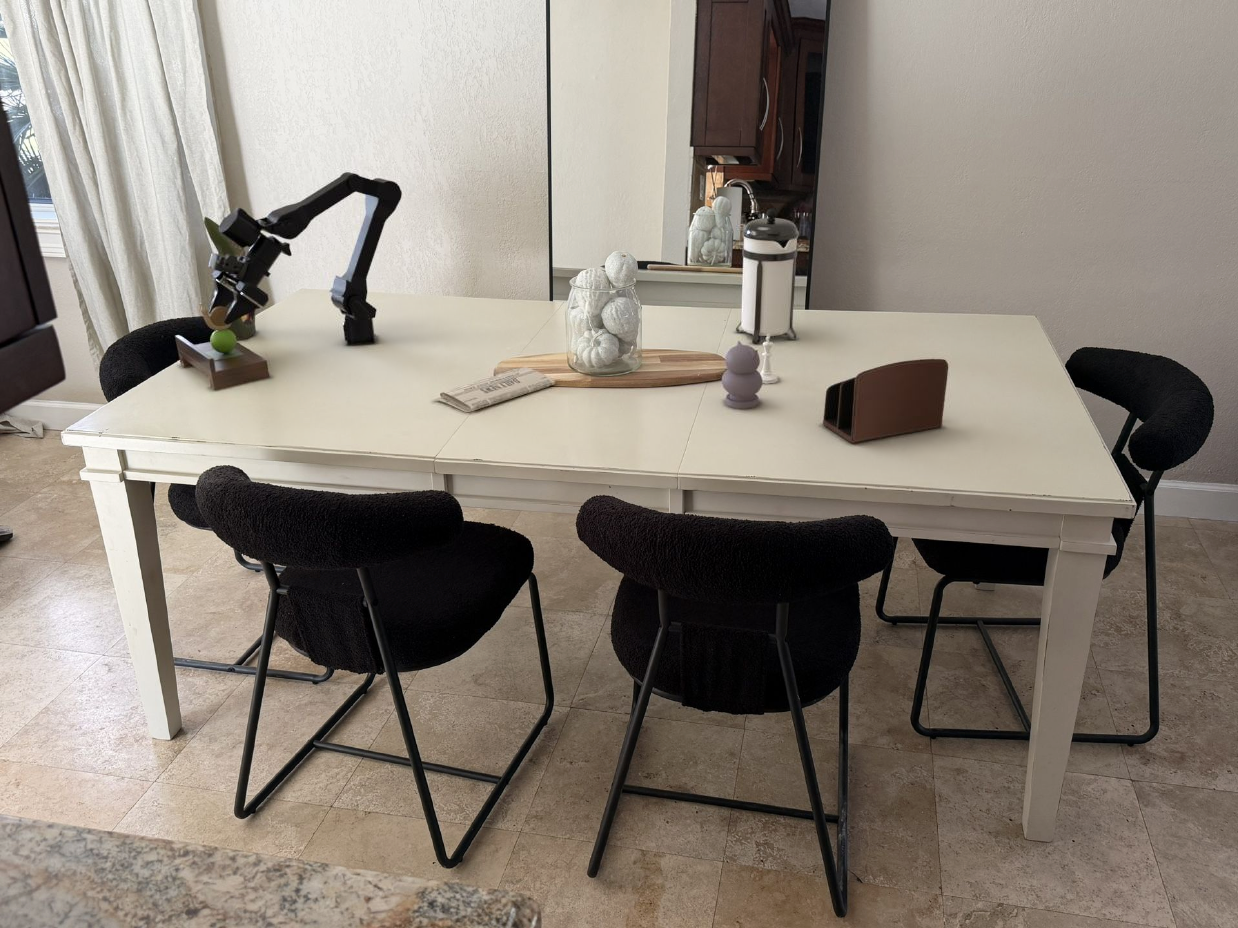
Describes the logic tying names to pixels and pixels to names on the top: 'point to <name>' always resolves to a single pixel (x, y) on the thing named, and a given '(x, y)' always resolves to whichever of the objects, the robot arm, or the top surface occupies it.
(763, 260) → the coffee press
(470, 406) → the newspaper
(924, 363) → the letter holder
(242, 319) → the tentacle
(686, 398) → the top surface
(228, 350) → the snail figurine
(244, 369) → the wooden display stand
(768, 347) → the chess piece
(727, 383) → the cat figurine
